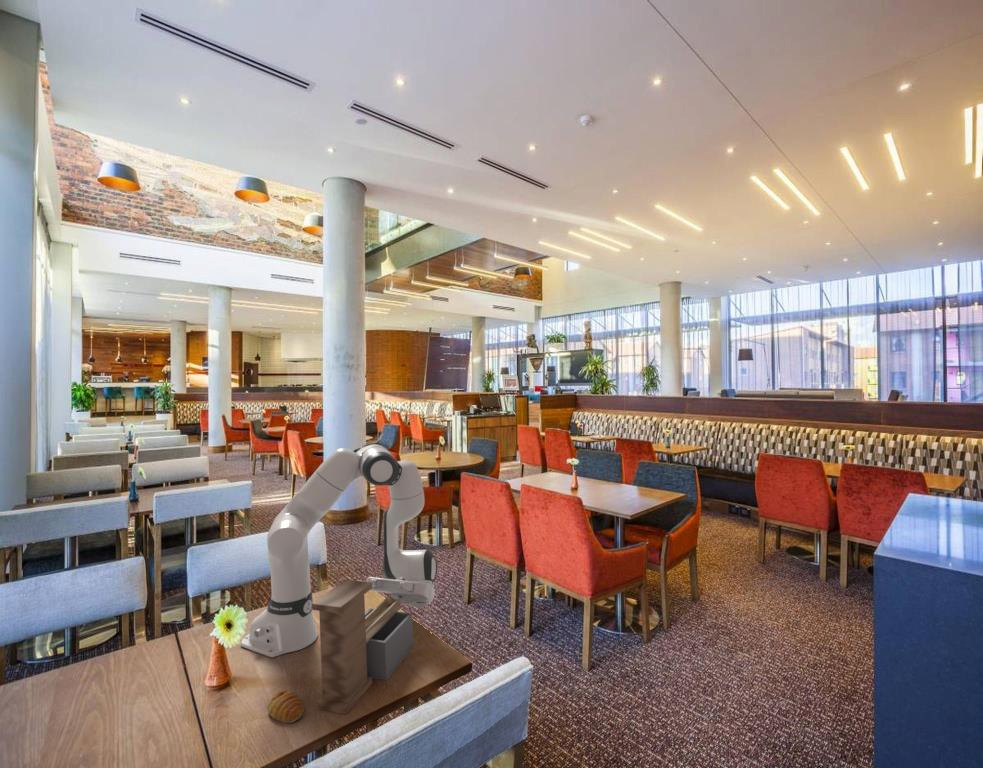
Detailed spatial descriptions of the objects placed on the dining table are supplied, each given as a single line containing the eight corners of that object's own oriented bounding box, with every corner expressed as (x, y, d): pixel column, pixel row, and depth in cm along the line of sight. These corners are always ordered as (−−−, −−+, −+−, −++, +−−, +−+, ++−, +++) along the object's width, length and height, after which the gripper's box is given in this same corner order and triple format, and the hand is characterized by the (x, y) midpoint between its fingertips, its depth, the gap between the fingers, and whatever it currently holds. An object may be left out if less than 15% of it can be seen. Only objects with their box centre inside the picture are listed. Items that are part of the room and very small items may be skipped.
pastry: (311, 713, 115) (311, 697, 115) (285, 730, 110) (284, 714, 110) (290, 698, 121) (290, 683, 121) (264, 714, 116) (263, 698, 116)
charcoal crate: (340, 672, 131) (339, 636, 131) (371, 640, 146) (370, 608, 146) (386, 680, 127) (385, 642, 127) (413, 647, 142) (412, 613, 142)
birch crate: (351, 641, 128) (351, 630, 128) (386, 607, 146) (386, 597, 146) (366, 643, 127) (365, 632, 127) (399, 609, 145) (399, 599, 145)
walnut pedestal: (315, 710, 116) (311, 603, 116) (349, 675, 130) (345, 579, 129) (344, 715, 114) (340, 607, 113) (375, 679, 127) (371, 582, 127)
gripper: (379, 575, 158) (358, 569, 147) (437, 581, 152) (420, 575, 141) (375, 596, 155) (353, 591, 144) (433, 603, 149) (415, 599, 138)
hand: (387, 583), depth 142 cm, fingers open, 8 cm apart
